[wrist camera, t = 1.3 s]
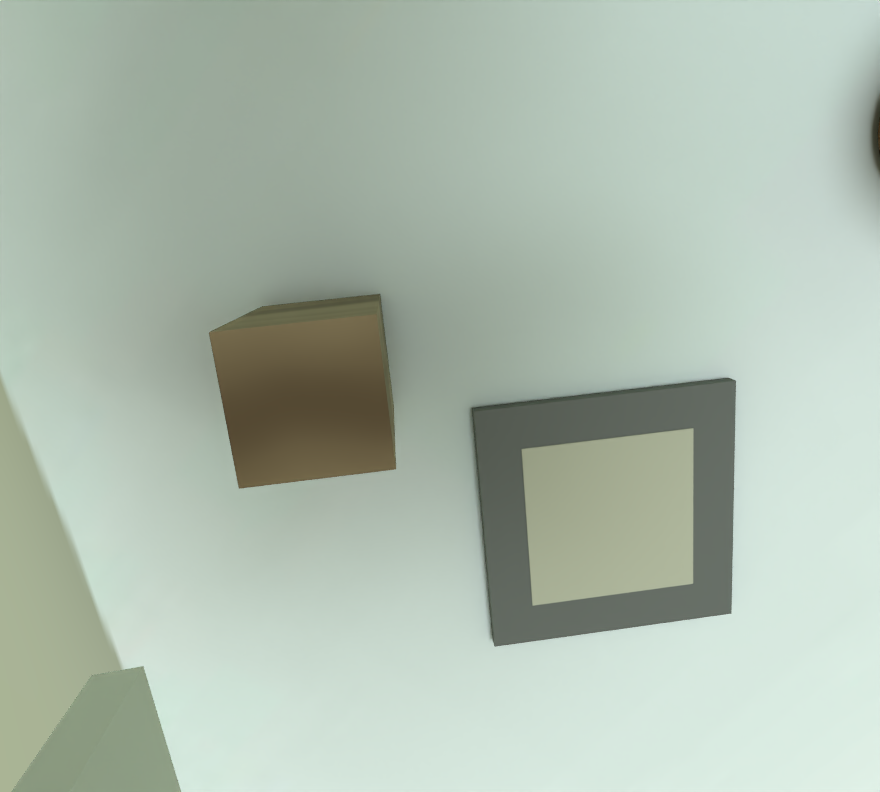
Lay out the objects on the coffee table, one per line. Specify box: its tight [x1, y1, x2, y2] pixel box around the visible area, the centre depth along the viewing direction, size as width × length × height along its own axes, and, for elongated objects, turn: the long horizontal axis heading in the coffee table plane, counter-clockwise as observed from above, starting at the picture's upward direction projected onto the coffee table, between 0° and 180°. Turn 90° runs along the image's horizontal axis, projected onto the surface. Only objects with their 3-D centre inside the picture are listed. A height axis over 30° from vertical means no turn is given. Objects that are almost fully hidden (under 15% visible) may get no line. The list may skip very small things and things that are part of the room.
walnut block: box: [209, 294, 396, 488], centre depth 23 cm, size 5×5×8 cm
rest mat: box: [472, 378, 736, 646], centre depth 29 cm, size 12×12×1 cm
